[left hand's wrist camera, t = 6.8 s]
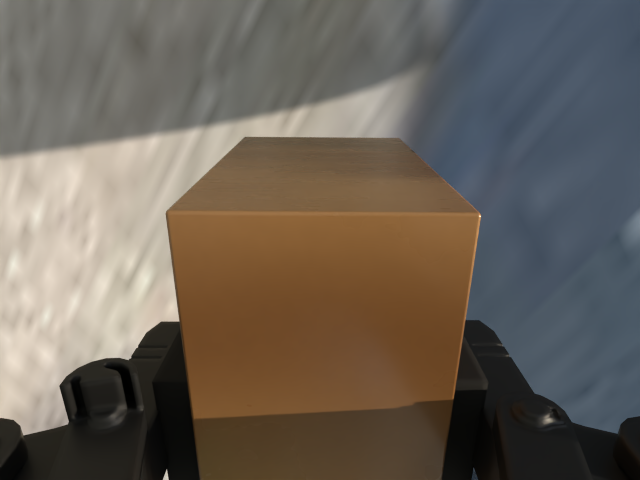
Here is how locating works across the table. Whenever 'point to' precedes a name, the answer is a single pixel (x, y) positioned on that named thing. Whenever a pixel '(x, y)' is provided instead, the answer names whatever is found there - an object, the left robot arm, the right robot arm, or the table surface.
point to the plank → (322, 309)
